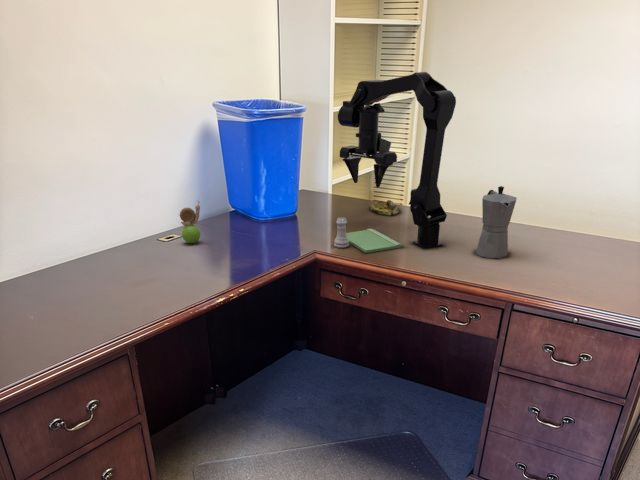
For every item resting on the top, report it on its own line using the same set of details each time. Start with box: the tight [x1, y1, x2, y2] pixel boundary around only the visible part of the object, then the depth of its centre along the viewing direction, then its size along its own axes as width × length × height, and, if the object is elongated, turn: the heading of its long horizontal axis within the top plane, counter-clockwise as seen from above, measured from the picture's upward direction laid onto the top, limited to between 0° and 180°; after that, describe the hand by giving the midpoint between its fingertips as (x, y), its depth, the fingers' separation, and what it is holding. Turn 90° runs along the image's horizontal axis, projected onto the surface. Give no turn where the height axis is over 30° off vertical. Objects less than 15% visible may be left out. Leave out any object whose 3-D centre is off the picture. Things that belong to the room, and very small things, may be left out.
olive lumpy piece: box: [370, 199, 400, 216], centre depth 208 cm, size 9×5×15 cm
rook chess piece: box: [333, 216, 350, 249], centre depth 174 cm, size 4×4×8 cm
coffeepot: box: [475, 185, 518, 259], centre depth 164 cm, size 15×9×18 cm, turn 4°
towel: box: [346, 227, 403, 254], centre depth 179 cm, size 18×12×1 cm, turn 24°
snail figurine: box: [179, 200, 201, 244], centre depth 177 cm, size 5×6×12 cm
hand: (366, 185), depth 185 cm, fingers open, 9 cm apart
